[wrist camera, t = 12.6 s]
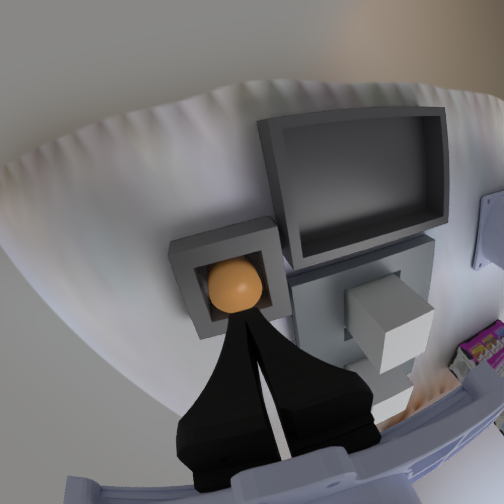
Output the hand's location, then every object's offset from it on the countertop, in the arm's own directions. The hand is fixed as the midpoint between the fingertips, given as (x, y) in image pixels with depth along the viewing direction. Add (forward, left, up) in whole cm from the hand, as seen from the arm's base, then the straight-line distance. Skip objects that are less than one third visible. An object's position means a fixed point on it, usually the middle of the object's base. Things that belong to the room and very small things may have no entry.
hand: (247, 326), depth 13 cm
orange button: (0, 0, -5) cm, 5 cm away
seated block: (-9, +13, -6) cm, 17 cm away
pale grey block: (-9, +5, -6) cm, 12 cm away
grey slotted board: (-9, +9, -6) cm, 14 cm away
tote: (-9, -5, -6) cm, 12 cm away
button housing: (0, 0, -6) cm, 6 cm away
